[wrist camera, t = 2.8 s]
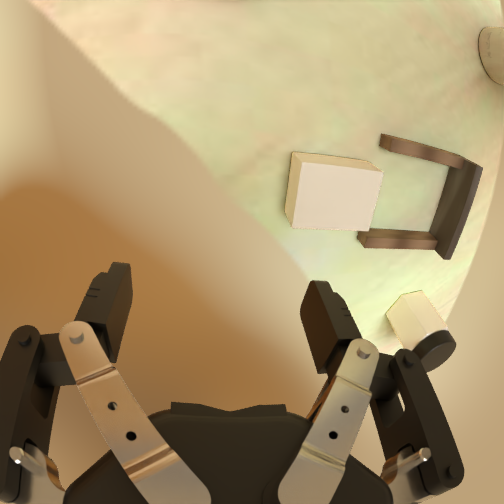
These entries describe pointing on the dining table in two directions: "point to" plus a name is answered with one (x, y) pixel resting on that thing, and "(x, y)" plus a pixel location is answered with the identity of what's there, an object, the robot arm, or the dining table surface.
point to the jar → (421, 329)
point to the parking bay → (449, 209)
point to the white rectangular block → (331, 192)
